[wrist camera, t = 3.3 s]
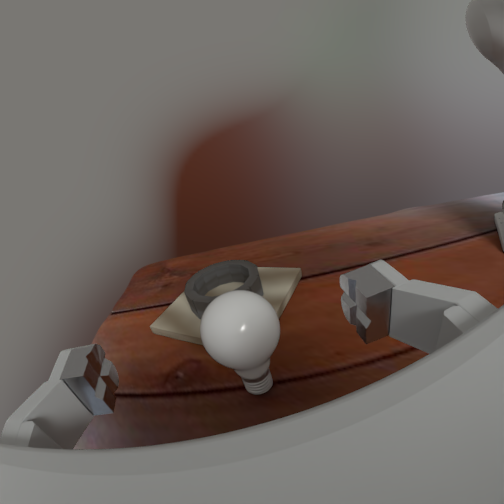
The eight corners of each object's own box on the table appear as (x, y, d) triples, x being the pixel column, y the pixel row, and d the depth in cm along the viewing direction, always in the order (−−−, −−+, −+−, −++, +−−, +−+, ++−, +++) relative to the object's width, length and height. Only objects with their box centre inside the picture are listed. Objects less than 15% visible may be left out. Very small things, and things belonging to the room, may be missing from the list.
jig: (211, 271, 50) (204, 250, 48) (301, 275, 43) (297, 249, 41) (153, 333, 38) (140, 309, 36) (258, 355, 30) (249, 327, 29)
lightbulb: (282, 356, 30) (260, 266, 25) (302, 400, 24) (282, 308, 19) (224, 374, 29) (187, 288, 24) (234, 422, 23) (190, 336, 19)
